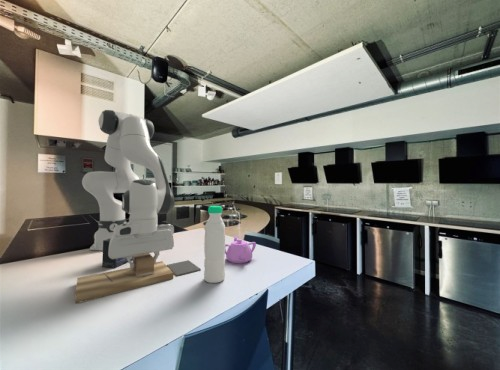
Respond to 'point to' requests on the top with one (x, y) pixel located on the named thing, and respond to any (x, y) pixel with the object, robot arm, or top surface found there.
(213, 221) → the water bottle
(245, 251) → the teapot
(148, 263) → the block
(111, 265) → the small box
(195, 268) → the rubber mat
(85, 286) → the oak board
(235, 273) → the top surface
